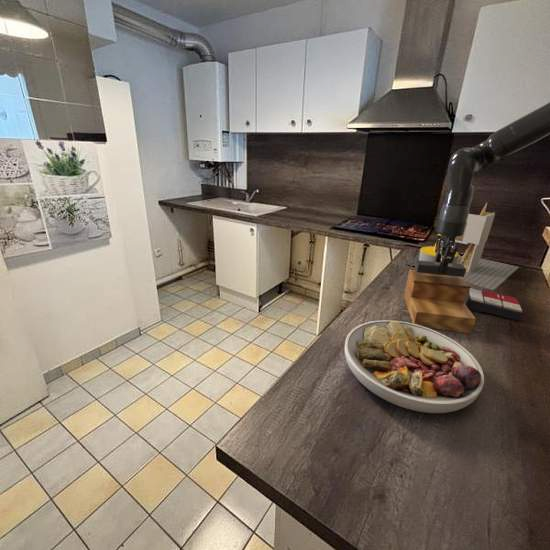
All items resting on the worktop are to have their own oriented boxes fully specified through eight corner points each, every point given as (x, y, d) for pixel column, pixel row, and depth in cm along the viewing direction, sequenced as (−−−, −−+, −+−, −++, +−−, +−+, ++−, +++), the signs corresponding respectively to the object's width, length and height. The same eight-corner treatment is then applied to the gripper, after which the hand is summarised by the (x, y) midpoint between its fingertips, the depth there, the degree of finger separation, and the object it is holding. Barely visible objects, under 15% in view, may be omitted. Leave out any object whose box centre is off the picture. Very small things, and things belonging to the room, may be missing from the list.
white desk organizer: (445, 266, 137) (461, 204, 126) (458, 258, 147) (474, 200, 136) (468, 272, 130) (487, 207, 119) (480, 264, 140) (499, 203, 129)
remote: (459, 272, 97) (461, 263, 96) (464, 277, 93) (466, 268, 92) (414, 267, 100) (415, 259, 99) (416, 272, 96) (418, 264, 95)
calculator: (525, 311, 91) (469, 297, 98) (519, 323, 93) (465, 308, 99) (518, 297, 100) (468, 285, 106) (513, 308, 102) (464, 296, 108)
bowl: (320, 373, 70) (322, 346, 67) (372, 323, 91) (376, 300, 88) (462, 452, 52) (474, 420, 49) (487, 366, 73) (496, 340, 70)
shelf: (451, 302, 104) (460, 274, 100) (472, 333, 86) (483, 300, 82) (403, 296, 108) (408, 269, 103) (412, 325, 90) (420, 293, 85)
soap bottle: (437, 296, 108) (451, 241, 100) (406, 283, 118) (416, 233, 110) (455, 288, 115) (470, 236, 106) (424, 277, 125) (436, 228, 116)
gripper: (474, 224, 82) (459, 279, 89) (458, 215, 95) (445, 263, 102) (445, 223, 84) (432, 277, 90) (433, 213, 96) (422, 261, 103)
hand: (439, 269), depth 96 cm, fingers closed on remote, 4 cm apart
